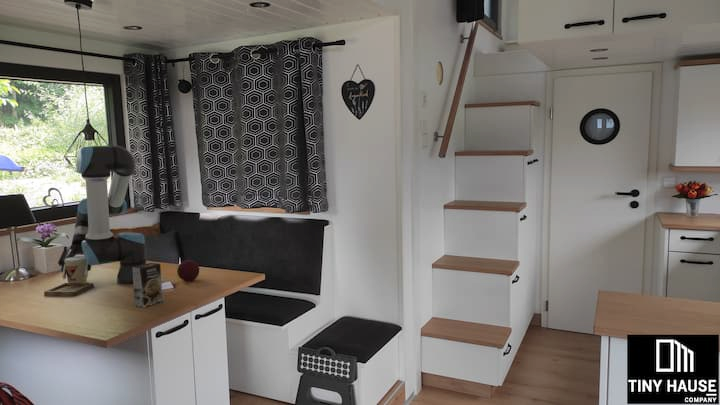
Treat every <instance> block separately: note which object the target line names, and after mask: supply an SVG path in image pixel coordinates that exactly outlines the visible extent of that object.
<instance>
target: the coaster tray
mask: <svg viewBox="0 0 720 405" xmlns="http://www.w3.org/2000/svg"><path fill="white" fill-rule="evenodd" d="M94 284H95V283H94V282H93V283H92V282H86V283H68V282H64V283H61V284H60V285H56V286H54V287H51V288H50V289H47V290H44V291H43V294H44V295H43V296H44V297H76V296H78V295H81V294H83V293H85V292H87V291H89V290H91V289H94V288H95V285H94Z"/></svg>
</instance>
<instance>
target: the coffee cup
mask: <svg viewBox="0 0 720 405" xmlns="http://www.w3.org/2000/svg"><path fill="white" fill-rule="evenodd" d="M64 262H65V267H66V273H67V274H66V278H67V283H88V282H87V279H88V277H87V278H86V277H85V275H84V273H85V267H86V263H87V262H86V260H85V257H84V255H79V256H78V255H77V256H76V255H75V256H74V257H70V258H67V257H66V258H65V261H64Z"/></svg>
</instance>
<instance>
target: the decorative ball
mask: <svg viewBox="0 0 720 405" xmlns="http://www.w3.org/2000/svg"><path fill="white" fill-rule="evenodd" d="M176 272H177V276H178V277H179V279H180V280H182V281H185V282H191V281H194V280H195V279H197V278H198V276H199V274H200V266H199V264H198V263H197V262H196V261H195V260H191V259H186V260H182V261H181V262H180V264H179V265H178V266H177V271H176Z"/></svg>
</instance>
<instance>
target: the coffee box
mask: <svg viewBox="0 0 720 405" xmlns="http://www.w3.org/2000/svg"><path fill="white" fill-rule="evenodd" d="M132 268H133V284H132V285H133V296H134V306H136V305H139V306H138V307H140V306H143V307H144V306H147V305H150V304H154V303H157V302H160V303H162V302H161V301H164V300H163V287H162V286H163V284H162V269H161V263H156V262H155V263H154V262H148V263H146V264H144V265H139V266H135V267H132ZM157 304H158V303H157ZM154 305H155V304H154ZM143 307H142V308H143ZM144 308H145V307H144Z"/></svg>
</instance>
